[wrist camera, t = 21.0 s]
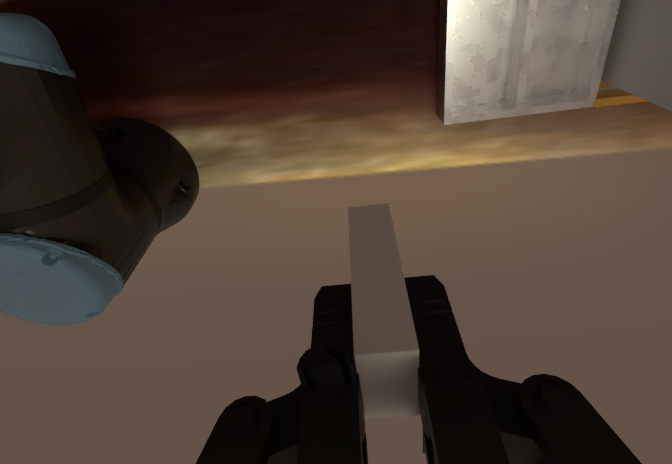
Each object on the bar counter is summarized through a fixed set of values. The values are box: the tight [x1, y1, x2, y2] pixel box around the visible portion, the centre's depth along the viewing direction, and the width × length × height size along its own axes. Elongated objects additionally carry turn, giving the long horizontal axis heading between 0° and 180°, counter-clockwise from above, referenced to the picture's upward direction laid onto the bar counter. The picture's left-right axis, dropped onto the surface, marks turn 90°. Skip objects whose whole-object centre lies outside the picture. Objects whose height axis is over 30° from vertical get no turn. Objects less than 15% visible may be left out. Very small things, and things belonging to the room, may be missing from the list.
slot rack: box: [437, 0, 646, 125], centre depth 39 cm, size 24×19×4 cm
